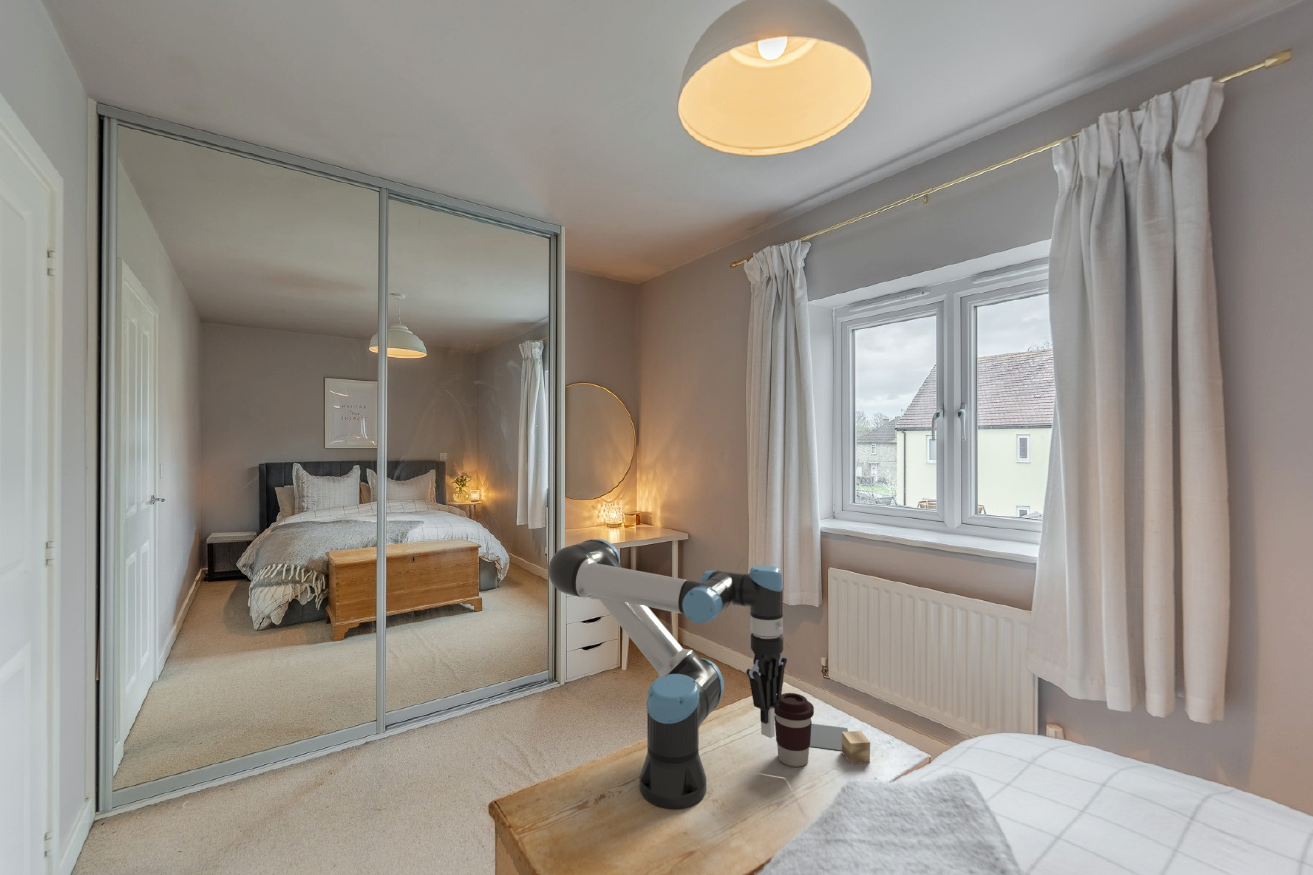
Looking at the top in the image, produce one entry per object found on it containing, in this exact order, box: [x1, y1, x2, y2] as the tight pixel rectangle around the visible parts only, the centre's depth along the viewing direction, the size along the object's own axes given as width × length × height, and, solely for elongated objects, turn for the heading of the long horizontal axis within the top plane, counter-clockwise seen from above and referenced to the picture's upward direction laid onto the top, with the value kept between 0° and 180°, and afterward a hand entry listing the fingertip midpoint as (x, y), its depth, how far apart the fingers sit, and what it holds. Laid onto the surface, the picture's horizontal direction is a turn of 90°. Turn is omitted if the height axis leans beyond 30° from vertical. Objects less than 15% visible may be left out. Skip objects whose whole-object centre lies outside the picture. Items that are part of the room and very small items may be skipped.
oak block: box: [841, 730, 871, 764], centre depth 141 cm, size 5×5×5 cm
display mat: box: [809, 723, 849, 752], centre depth 151 cm, size 12×12×1 cm
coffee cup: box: [774, 692, 815, 768], centre depth 140 cm, size 10×10×15 cm
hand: (767, 734), depth 132 cm, fingers closed
